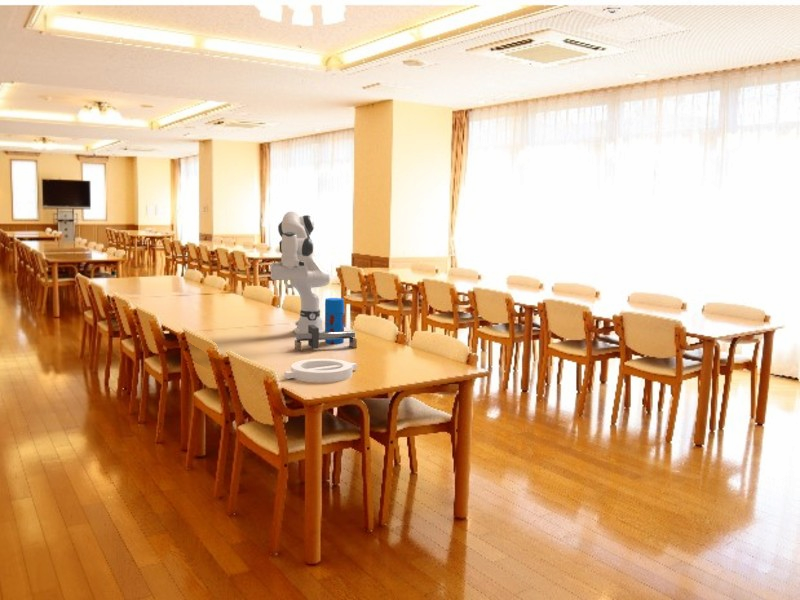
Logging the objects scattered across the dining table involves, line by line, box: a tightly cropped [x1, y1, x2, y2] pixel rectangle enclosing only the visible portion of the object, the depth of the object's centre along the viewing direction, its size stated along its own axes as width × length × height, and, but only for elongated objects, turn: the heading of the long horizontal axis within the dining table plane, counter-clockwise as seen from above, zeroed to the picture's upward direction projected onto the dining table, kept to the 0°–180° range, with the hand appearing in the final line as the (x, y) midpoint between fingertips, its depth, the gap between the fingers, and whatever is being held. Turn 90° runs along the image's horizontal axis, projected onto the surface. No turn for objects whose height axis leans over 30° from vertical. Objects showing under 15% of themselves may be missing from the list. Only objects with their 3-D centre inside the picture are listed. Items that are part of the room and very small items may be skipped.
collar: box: [307, 325, 320, 350], centre depth 362 cm, size 11×3×11 cm, turn 22°
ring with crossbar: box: [284, 358, 358, 383], centre depth 306 cm, size 28×28×5 cm
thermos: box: [324, 297, 345, 345], centre depth 382 cm, size 11×11×25 cm
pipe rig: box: [294, 330, 358, 352], centre depth 365 cm, size 7×33×9 cm, turn 112°
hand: (289, 287), depth 365 cm, fingers closed
